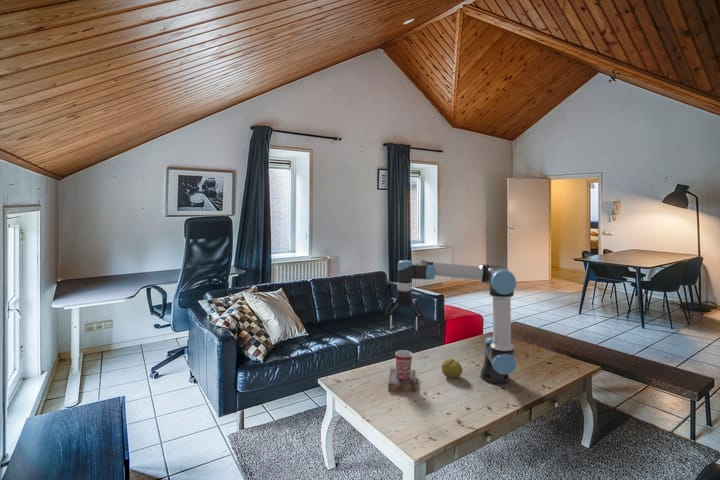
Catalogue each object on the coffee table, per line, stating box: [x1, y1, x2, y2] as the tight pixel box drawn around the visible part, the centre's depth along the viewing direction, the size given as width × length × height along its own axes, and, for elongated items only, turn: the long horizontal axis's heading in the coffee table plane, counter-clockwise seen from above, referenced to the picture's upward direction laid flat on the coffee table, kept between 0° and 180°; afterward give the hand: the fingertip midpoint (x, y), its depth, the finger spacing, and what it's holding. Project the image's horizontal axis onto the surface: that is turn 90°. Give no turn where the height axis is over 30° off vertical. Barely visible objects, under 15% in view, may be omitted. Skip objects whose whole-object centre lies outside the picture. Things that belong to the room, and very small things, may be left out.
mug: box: [394, 349, 413, 381], centre depth 207 cm, size 13×9×14 cm
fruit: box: [441, 358, 463, 379], centre depth 216 cm, size 11×12×10 cm
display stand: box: [387, 368, 416, 394], centre depth 208 cm, size 14×18×4 cm
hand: (403, 328), depth 205 cm, fingers open, 13 cm apart
